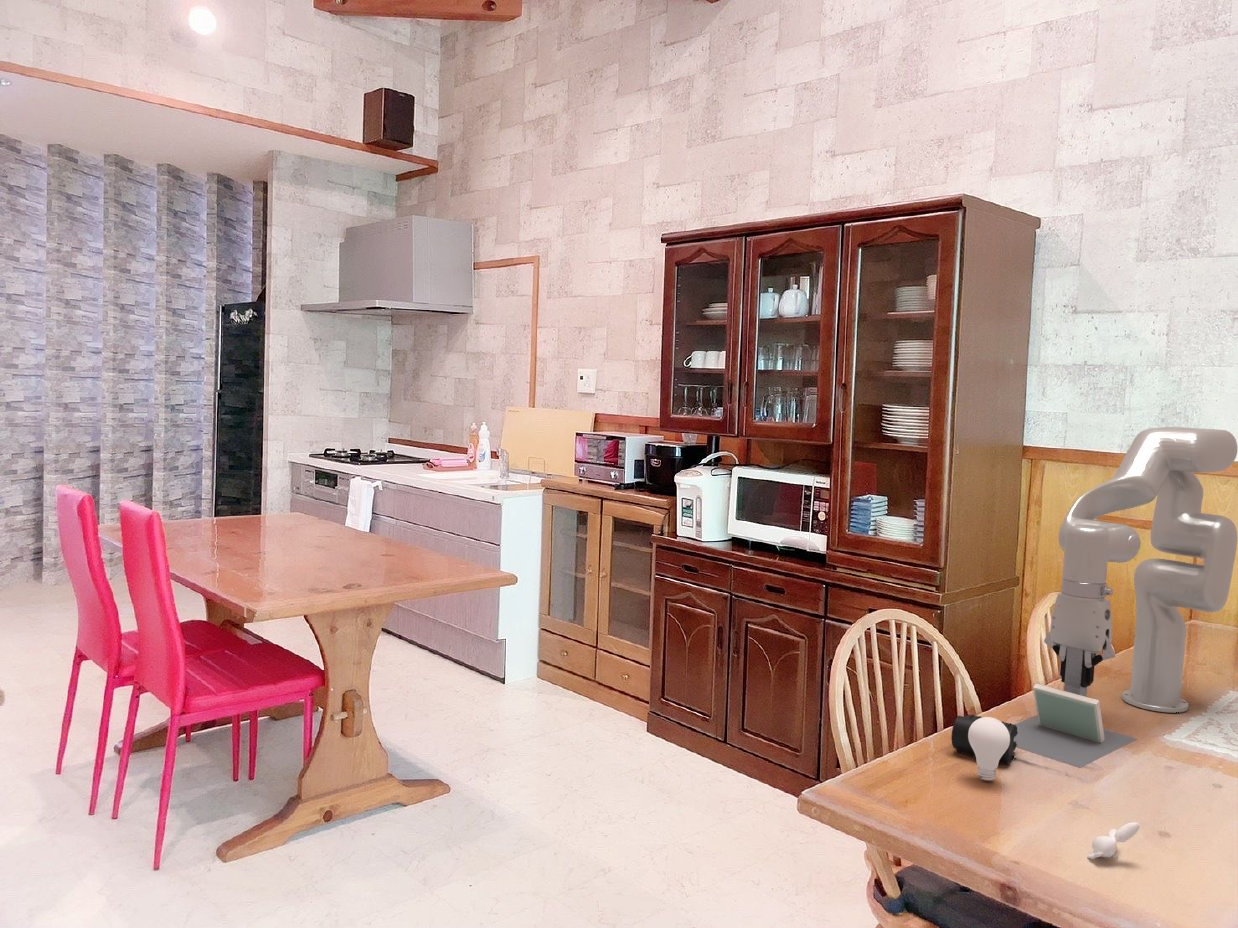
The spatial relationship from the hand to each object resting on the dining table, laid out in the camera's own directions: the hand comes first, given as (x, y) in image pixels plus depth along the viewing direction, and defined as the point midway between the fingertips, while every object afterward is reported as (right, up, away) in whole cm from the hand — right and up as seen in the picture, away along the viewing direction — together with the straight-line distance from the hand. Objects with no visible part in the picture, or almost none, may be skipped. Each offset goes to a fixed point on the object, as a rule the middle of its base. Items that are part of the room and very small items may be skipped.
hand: (1076, 682), depth 182 cm
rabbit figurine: (-17, -14, -47) cm, 52 cm away
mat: (-4, -11, -2) cm, 12 cm away
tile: (-1, -10, 0) cm, 10 cm away
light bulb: (-26, -12, -21) cm, 35 cm away
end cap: (-22, -11, -10) cm, 27 cm away
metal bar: (0, -3, 0) cm, 3 cm away
